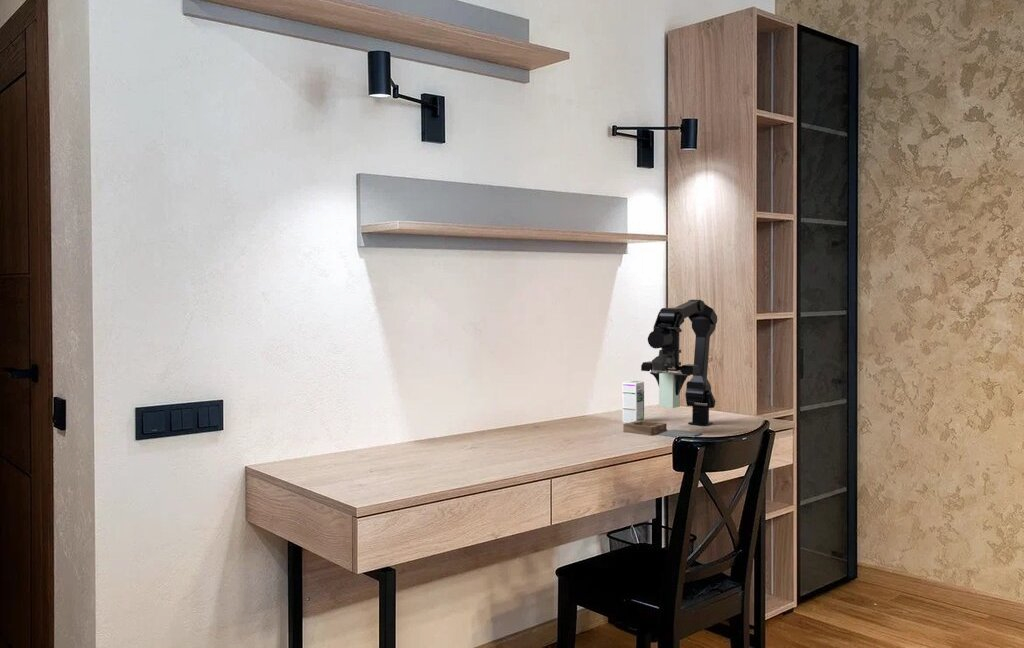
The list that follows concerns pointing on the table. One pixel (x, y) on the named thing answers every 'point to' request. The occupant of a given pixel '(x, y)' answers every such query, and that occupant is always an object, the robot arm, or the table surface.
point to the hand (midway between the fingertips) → (669, 394)
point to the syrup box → (632, 401)
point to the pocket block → (644, 427)
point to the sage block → (668, 390)
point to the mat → (679, 433)
